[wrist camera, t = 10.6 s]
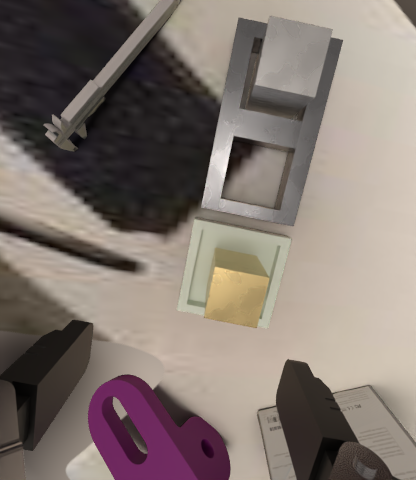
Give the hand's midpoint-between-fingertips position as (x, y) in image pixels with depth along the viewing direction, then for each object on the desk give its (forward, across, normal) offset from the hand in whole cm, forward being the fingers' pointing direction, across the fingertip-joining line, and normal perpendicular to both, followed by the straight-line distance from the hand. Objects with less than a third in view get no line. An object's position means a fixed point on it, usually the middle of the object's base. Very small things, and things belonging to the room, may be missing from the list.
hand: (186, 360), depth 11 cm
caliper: (+23, +12, -16) cm, 31 cm away
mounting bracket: (+22, +2, +26) cm, 34 cm away
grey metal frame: (+23, -4, -13) cm, 27 cm away
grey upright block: (+23, -4, -18) cm, 29 cm away
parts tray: (+22, -4, +3) cm, 23 cm away
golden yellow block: (+22, -4, +3) cm, 22 cm away
